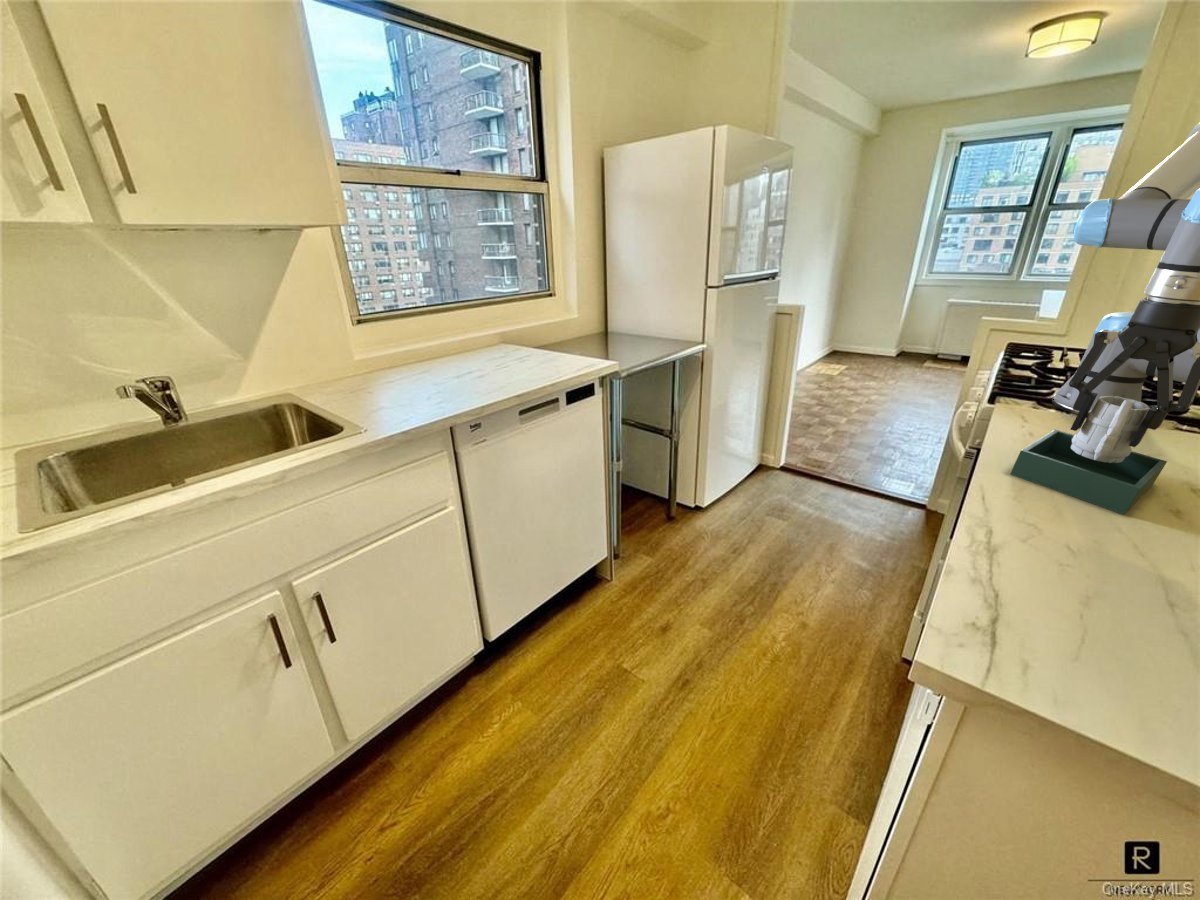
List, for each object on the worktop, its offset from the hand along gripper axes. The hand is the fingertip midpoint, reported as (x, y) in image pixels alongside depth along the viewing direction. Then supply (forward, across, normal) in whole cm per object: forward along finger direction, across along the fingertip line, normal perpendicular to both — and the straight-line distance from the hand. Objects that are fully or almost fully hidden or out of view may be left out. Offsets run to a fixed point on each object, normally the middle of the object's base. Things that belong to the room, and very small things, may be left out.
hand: (1103, 435), depth 83 cm
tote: (+9, 0, 0) cm, 9 cm away
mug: (+4, 0, 0) cm, 4 cm away
